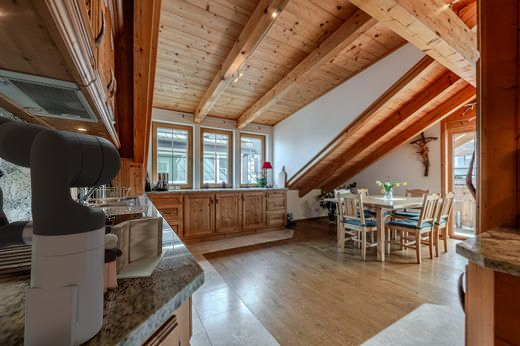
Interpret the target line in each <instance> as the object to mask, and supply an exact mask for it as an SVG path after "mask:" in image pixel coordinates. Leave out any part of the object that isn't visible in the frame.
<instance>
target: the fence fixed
mask: <svg viewBox="0 0 520 346" xmlns="http://www.w3.org/2000/svg"><path fill="white" fill-rule="evenodd" d="M129 225H130V222H125V221H123V222H121V223H118V224H116V225H113V227H111V233H110V234H114V235H116V236H117V237H118V240H117V242H116V245H115V247H114V248H118V249H120V250H121V251H122V252H123V256H124V260H122V261H121V260H120V258H119V257H116V276H117V275H118V274H120V271H122V270H123V269H124V268H125V267H126V266H127V265H128V239H129Z"/></svg>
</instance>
